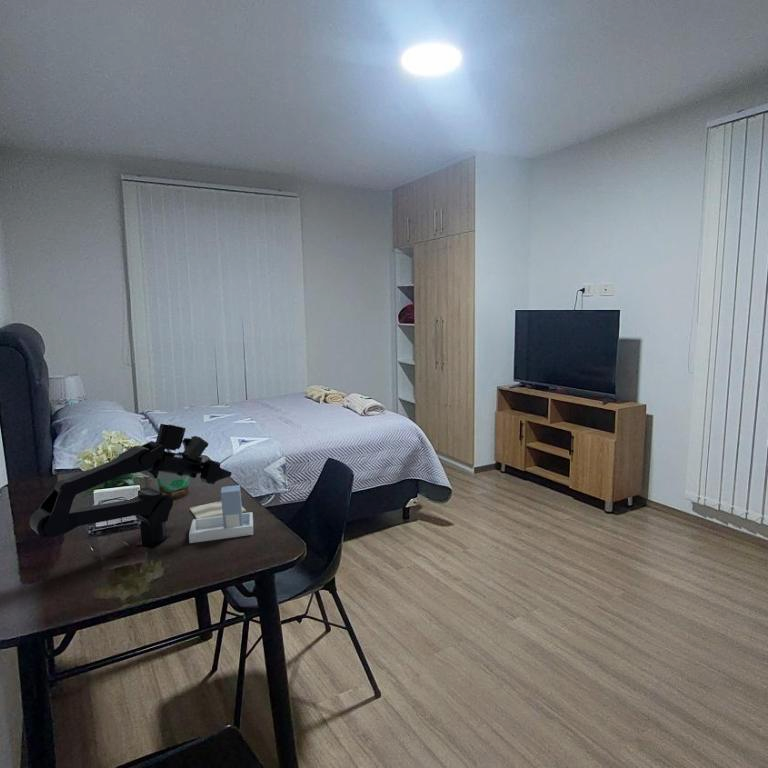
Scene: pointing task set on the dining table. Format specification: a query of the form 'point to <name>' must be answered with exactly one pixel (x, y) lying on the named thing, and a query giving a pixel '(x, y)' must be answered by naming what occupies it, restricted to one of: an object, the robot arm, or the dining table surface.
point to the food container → (173, 485)
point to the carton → (231, 506)
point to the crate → (219, 528)
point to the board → (209, 510)
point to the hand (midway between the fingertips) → (222, 471)
